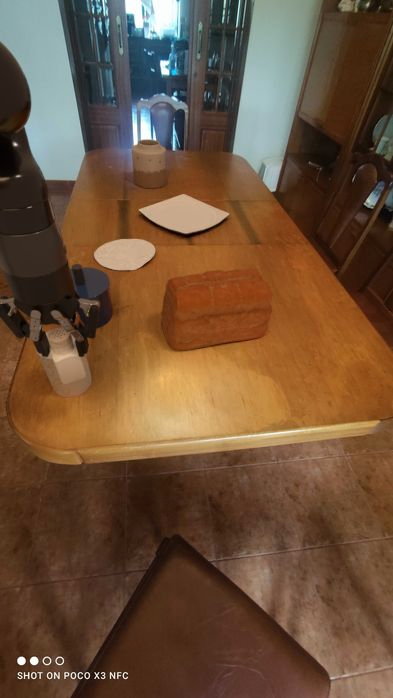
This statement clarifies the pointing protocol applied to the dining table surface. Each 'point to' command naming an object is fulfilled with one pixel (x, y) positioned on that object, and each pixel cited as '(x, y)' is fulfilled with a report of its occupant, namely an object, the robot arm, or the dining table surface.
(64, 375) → the salt shaker
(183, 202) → the plate
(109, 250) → the plaque
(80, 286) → the pot lid
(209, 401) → the dining table surface
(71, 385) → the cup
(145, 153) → the vase
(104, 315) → the pot
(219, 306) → the bread
